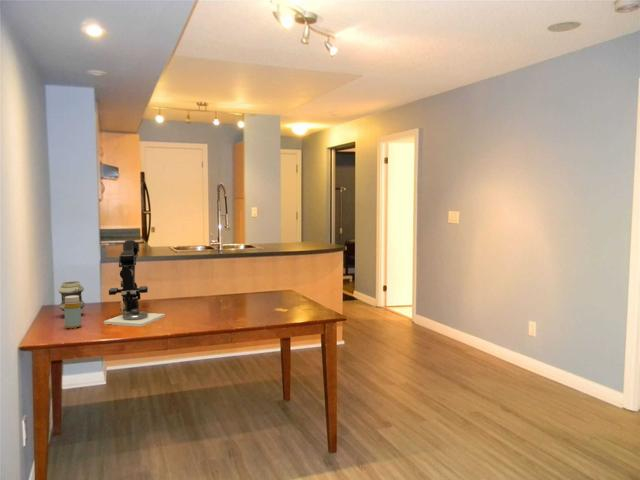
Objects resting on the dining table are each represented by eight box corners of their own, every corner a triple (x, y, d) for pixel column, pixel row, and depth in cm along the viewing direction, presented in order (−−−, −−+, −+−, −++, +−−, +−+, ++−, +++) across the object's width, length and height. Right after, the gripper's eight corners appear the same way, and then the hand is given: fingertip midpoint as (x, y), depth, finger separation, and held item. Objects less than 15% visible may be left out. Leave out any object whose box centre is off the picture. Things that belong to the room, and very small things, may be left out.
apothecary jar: (60, 314, 266) (59, 281, 264) (85, 312, 270) (84, 279, 269) (58, 319, 255) (56, 284, 253) (84, 317, 259) (83, 283, 258)
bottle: (70, 329, 234) (69, 298, 233) (62, 327, 238) (60, 297, 237) (84, 326, 240) (83, 296, 239) (75, 324, 244) (74, 294, 243)
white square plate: (103, 324, 245) (103, 321, 245) (129, 314, 265) (129, 311, 265) (141, 326, 240) (141, 323, 240) (164, 316, 261) (164, 314, 260)
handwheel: (152, 316, 254) (152, 303, 253) (131, 320, 244) (131, 307, 244) (131, 311, 265) (131, 299, 264) (110, 315, 255) (110, 302, 255)
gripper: (147, 274, 270) (149, 302, 271) (110, 276, 265) (112, 305, 266) (146, 276, 259) (147, 306, 260) (107, 279, 254) (109, 309, 255)
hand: (129, 306), depth 261 cm, fingers closed
